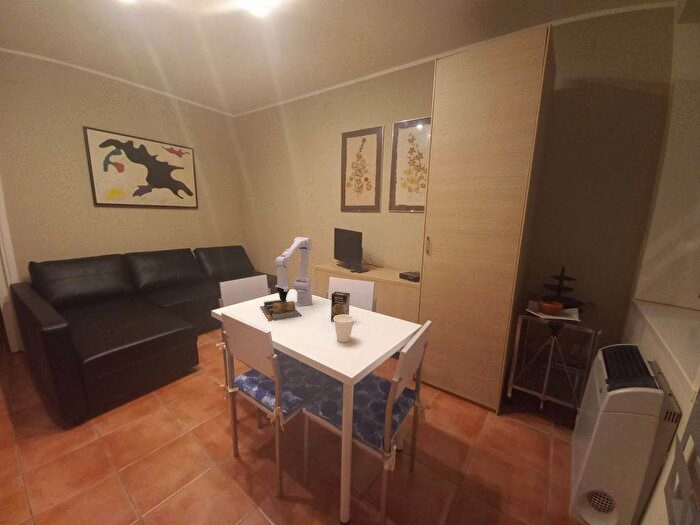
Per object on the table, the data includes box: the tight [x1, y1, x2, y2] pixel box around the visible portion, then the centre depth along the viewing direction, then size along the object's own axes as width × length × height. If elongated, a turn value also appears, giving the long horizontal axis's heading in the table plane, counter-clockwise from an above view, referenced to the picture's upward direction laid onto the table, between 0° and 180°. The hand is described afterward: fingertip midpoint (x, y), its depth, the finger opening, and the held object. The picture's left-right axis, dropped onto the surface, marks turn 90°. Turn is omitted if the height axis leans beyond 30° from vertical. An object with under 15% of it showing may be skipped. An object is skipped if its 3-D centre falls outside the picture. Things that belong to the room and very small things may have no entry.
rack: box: [259, 299, 302, 322], centre depth 168 cm, size 19×25×3 cm
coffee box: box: [330, 291, 351, 322], centre depth 156 cm, size 9×6×16 cm
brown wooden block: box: [273, 300, 296, 313], centre depth 162 cm, size 12×4×7 cm, turn 118°
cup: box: [333, 314, 355, 343], centre depth 133 cm, size 10×10×11 cm
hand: (282, 300), depth 161 cm, fingers open, 3 cm apart
